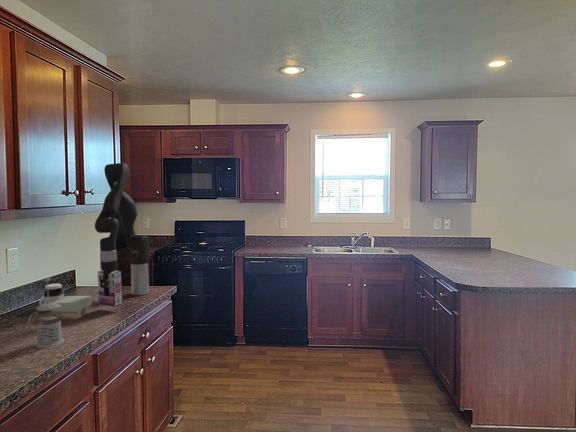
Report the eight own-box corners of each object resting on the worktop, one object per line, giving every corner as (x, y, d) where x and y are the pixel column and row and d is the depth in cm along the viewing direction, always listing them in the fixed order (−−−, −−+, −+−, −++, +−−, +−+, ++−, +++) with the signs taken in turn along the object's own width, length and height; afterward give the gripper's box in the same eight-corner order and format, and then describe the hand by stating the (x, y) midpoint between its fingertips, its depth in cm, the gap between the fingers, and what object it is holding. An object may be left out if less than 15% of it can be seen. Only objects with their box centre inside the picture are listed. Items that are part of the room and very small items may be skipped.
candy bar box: (123, 304, 193) (121, 270, 192) (114, 307, 189) (113, 272, 188) (107, 301, 199) (105, 268, 197) (98, 304, 194) (96, 270, 193)
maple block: (67, 312, 193) (67, 304, 193) (91, 312, 192) (91, 304, 192) (50, 320, 181) (50, 311, 181) (76, 320, 180) (75, 311, 180)
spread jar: (58, 310, 194) (57, 287, 193) (33, 312, 192) (32, 288, 192) (68, 304, 206) (67, 281, 205) (44, 305, 204) (43, 282, 203)
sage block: (67, 304, 193) (66, 295, 192) (91, 304, 192) (91, 295, 192) (51, 311, 181) (50, 302, 181) (77, 311, 180) (76, 302, 180)
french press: (61, 345, 149) (58, 279, 147) (25, 349, 145) (22, 281, 144) (67, 336, 158) (65, 274, 157) (34, 340, 155) (31, 276, 153)
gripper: (109, 256, 200) (110, 289, 201) (92, 262, 185) (94, 297, 186) (123, 256, 199) (124, 290, 200) (108, 262, 185) (110, 298, 186)
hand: (110, 293), depth 193 cm, fingers closed on candy bar box, 6 cm apart
